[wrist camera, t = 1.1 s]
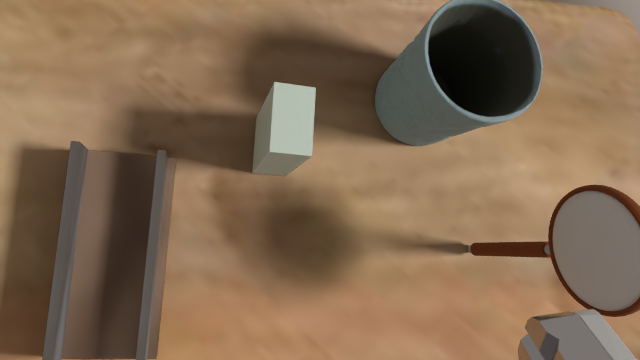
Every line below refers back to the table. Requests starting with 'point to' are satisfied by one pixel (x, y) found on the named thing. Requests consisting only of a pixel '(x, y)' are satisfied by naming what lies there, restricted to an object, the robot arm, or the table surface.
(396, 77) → the blue-grey cylindrical cup
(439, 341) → the table surface
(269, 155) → the pale green eraser block
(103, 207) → the track
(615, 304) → the magnifying glass
